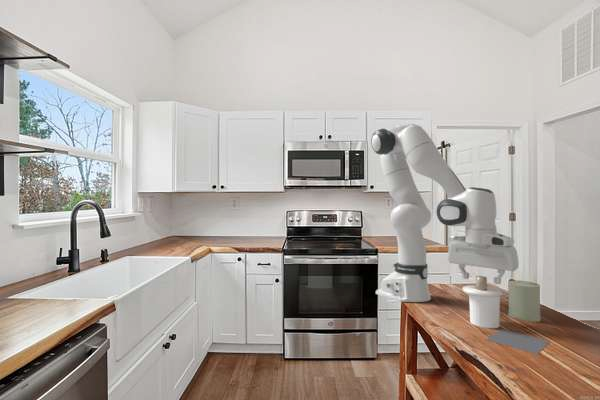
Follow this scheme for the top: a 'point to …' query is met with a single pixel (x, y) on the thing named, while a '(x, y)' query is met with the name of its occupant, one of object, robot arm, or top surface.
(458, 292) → the top surface
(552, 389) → the top surface
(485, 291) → the lid
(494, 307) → the mug
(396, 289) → the robot arm
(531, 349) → the mat
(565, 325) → the top surface
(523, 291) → the can
